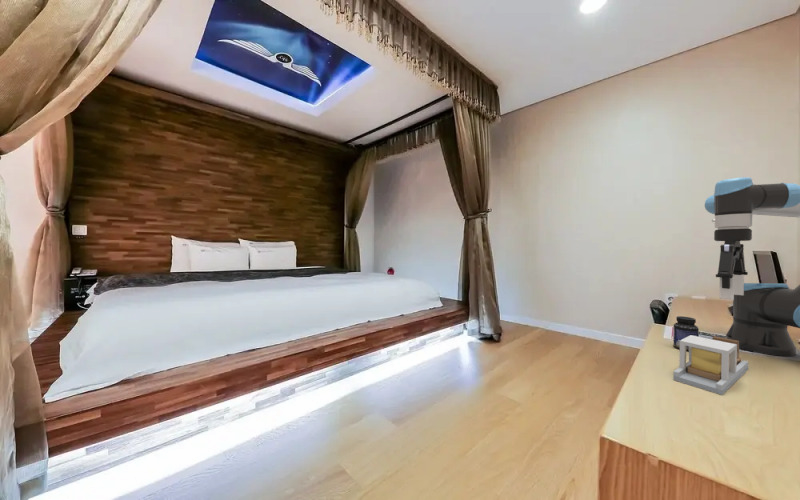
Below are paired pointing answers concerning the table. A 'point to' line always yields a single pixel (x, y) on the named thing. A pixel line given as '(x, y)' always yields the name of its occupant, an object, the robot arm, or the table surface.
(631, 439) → the table surface
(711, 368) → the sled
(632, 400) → the table surface
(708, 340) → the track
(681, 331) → the pill bottle
